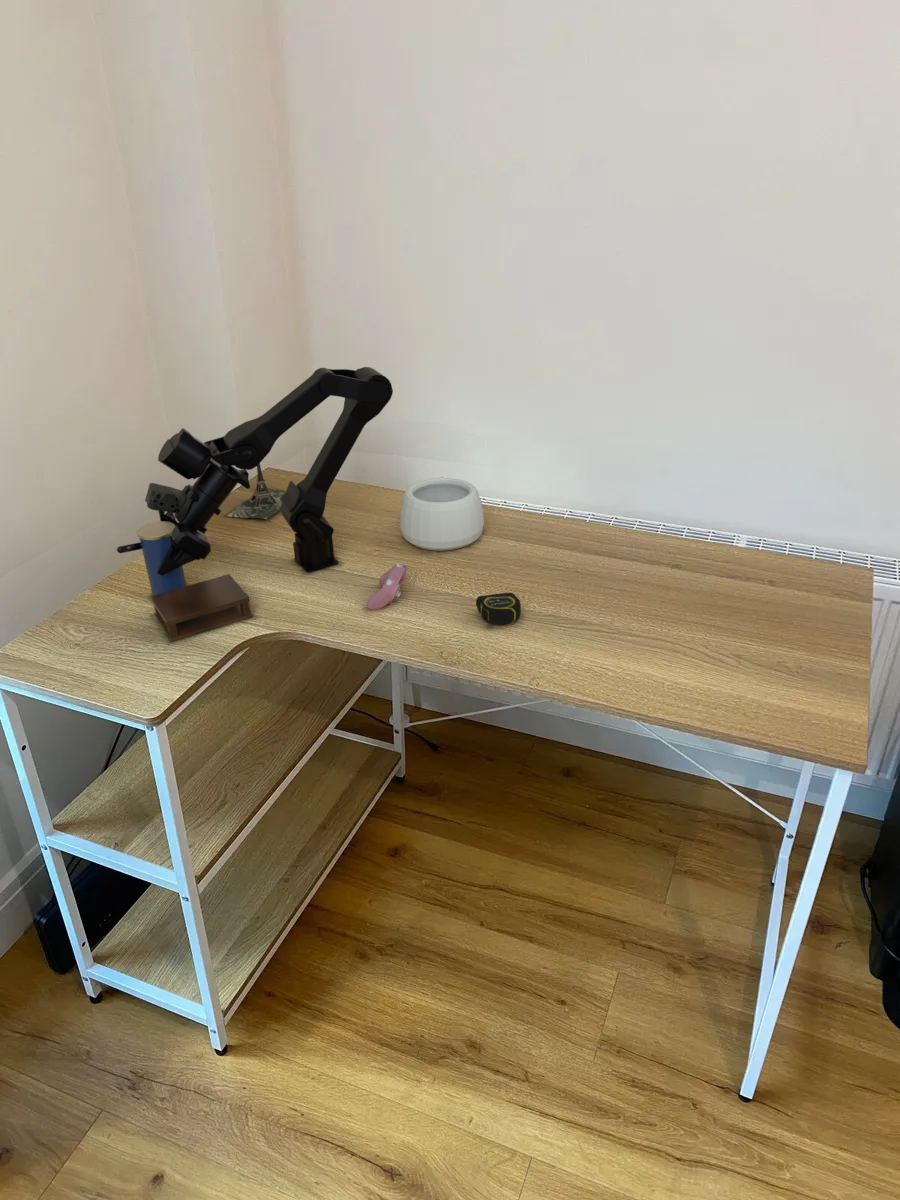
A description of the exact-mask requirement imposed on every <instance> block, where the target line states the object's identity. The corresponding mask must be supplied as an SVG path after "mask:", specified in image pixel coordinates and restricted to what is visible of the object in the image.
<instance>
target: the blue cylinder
mask: <svg viewBox="0 0 900 1200" xmlns="http://www.w3.org/2000/svg"><path fill="white" fill-rule="evenodd" d="M174 528H175V524H173V523H171V522H166V521H160V520H159V521H153V522H149V523H146V524H143V525H141V526H139V528H138V529H137V530H136V534H137V537H138V539H139V542H133V543H130V544H129V543H128V544H125V545H124V544H123V545H119V546H117V548H116V551H117V553H119V554H124V553H130V552H135V551H140V550H141V551H142V556H143V560H144V564H145V567H146V573H147V577H148V581H149V586H150V590H151V596H153V595H156V594H160V593H163V592H167V591H170V590H174V589H178V588H181V587H185V586H187V581H186V577H185V573H184V567H183V566H181V567H178V568H176V569H174V570H172V571H170V572H168V573H166V574H164V575H160V574H158V573H157V570H158V568H159V566H160V564H161V562H162V561H163V559H164V557H165V555H166V554H167V552H168V550H169V548H170V541H169V535H170V536H171V534H172V531H173V529H174Z"/></svg>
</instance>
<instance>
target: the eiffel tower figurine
mask: <svg viewBox="0 0 900 1200" xmlns="http://www.w3.org/2000/svg"><path fill="white" fill-rule="evenodd" d="M260 463H261V462H260ZM260 463H259V465H258V466H256V471H257V472H256V475H257V476H256V486H255V488H254V489H253V490H254V491H253V493H252V495H251V497H250V498H249V499H247V500H245V501H244V502H242V503H241V504H240V505H238V507H236V508H235V509H234V510H232V511H231V512H230V513H229V514H228V515H226V517H232V518H240V519H241V518H242V519H264V520H269V519H270V517H272V516H273V515H275V514H276V513H277V512H278V513H279V512H280V511H281V510H280V506H281V503H282V501H281V500H280V498H281V497H282V496H283V495H284V494H285V492H286V490H283V489H277V488H272V487H271V488H270V487H268V486H267V485H266V480H265V479H264V476H263V472H262V468H261V464H260Z"/></svg>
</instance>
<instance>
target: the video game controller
mask: <svg viewBox="0 0 900 1200" xmlns="http://www.w3.org/2000/svg"><path fill="white" fill-rule="evenodd" d="M408 572H409V567H407V566H406V565H404V564H399V563H396V564H394V565H393V566H392V567H391V568H390V569H389V570H387V571H386V572H384V573H383V574H381V576H380V577H379V579H378V583H379V584H380V586H381V588H380V589H379V590H378V591H377V592H375V593H374V594H372V595H371V596H370V597H368V598H367V600H366V602H365V603H366V604H365V605H366V607H367V609H368V610H372V611H375V610H380V609H382V608H383V607H386V606H387V605H391V603H392V602H393V600H394V599H395V598H397V599H398V598H399V597H400V596H401V594H402V592H401V588H400V587H401V584H402V583H403V581H405V579H406V578H407V575H408Z"/></svg>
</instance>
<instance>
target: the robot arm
mask: <svg viewBox="0 0 900 1200" xmlns="http://www.w3.org/2000/svg"><path fill="white" fill-rule="evenodd" d="M393 392H394V389H393V386H392V383H391V381H390V379H389V378H387V377H386V376H385V375H383V374H382V373H380V372H379V371H377V370H376V369H375V368H373V367H370V366H363V367H359V368H357V369H347V368H339V369H338V368H334V369H333V368H327V367H319V368H317V369H316V370H315V371H314V372H313V373H312V374H311V375H310V376H308V377H307V379H305V380H304V381H303V382H302V383H301V384H299V385H297V386H296V387H295V388H294V389H293V390H292V391H290V392H289V393H288V394H286V395H285V396H284V397H283V398H282V399H281V400H279V401H277V403H276V404H274V405H273V406H272V407H271V408H270V409H268V410H267V411H266V412H264V413H263V414H262V415H260V416H258V417H256V418H252V419H250V420H247V421H245V422H242V423H240V424H238V425H237V426H235V427H233V428H231V429H230V430H228V431H227V432H226V433H225V434H224V436H221V437H220V436H219V437H216V438H213V439H210V440H207V441H204V442H202V441H201V440H199V439H198V438H197V437H195V436H194V435H193V434H191V432H190V431H188V430H187V429H185V428H181V429H180V430H179V431H178V433H174V434H173V435H172V436H171V437H170V438H168V439H167V440H166V441H165V442H164V444H163V445H162V447H161V448H160V451H159V453H158V456H157V457H158V458H157V461H158V462H159V463H160V464H162V465H164V466H165V467H167V468H169V469H170V470H172V471H173V472H175V473H176V474H178V475H180V476H181V477H183V478H184V479H186V480H191V479H192V480H196V481H195V482H194V483H193V485H191V484H190V483H188V484H186V485H185V486H184V487H183V488H182V490H181V489H178V488H176V487H172V486H168V485H163V484H158V483H154V482H150V483H149V485H148V487H147V488H148V489H147V491H146V496H145V499H144V502H146V507H147V508H148V509H150V510H153V511H157V512H158V517H159V521H166V522H171V523H173V524H175V528H174V529H173V531H172V534H171V536H170V535H169V541H170V548H169V550H168V552H167V554H166V555H165V557H164V559H163V561H162V562H161V564H160V566H159V568H158V570H157V573H158V574H160V575H164V574H166V573H168V572H170V571H172V570H174V569H176V568H178V567H181V566H182V567H183V566H185V565H187V564H189V563H192V562H194V561H200V560H201V559H202V560H205V559H207V557H208V556H209V554H210V553H211V552H212V549H211V544H210V541H209V540H208V538H207V536H206V535H205V533H207V531H208V528H207V524H208V523H209V521H210V520H211V519H212V518H213V516H214V515H216V516H219V515H220V514H221V513H222V509H221V506H222V505H223V503H224V502H225V501H226V499H227V498H228V497H229V495H230V494H231V493H232V491H233V490H234V489H235V488H236V486H238V484H239V485H241V486H242V487H243V488H245V489H247V490H249V489H251V484H250V480H249V475H250V473H249V471H251V470H253V469H255V468H257V466H258V465H259V463H261V462H262V461H263V460H264V459H265V458H266V457H267V455H269V453H270V452H271V450H272V448H273V447H274V445H275V443H277V442H276V441H277V440H278V439H279V438H280V437H281V436H282V435H284V433H287V431H288V430H289V429H291V428H292V427H293V426H295V425H296V424H297V423H298V422H299V421H300V420H302V419H303V418H304V417H306V416H307V415H308V414H309V413H310V412H312V411H313V410H314V409H316V408H318V406H319V405H320V404H322V403H323V402H324V401H325V400H326V399H328V398H329V397H339V398H344V402H343V408H342V411H341V413H340V415H339V417H338V419H337V421H336V422H335V424H334V426H333V428H332V430H331V431H330V432H329V435H328V436H327V438H326V440H325V442H324V443H323V445H322V448H321V449H320V451H319V452H318V454H317V456H316V458H315V460H314V462H313V464H312V465H311V467H310V469H309V471H308V473H307V474H306V476H305V477H304V478H303V479H301V481H300V482H298V483H295V482H294V481H293V480H291V481H290V482H289V483H288V484H287V488H286V490H285V491H286V492H285V494H284V495H283V496H282V497H281V498H280V500H281V501H282V503H281V506H280V510H279V511H280V513H281V516H282V518H284V520H285V521H286V523H287V525H288V526H289V527H290V528H291V530H292V531H293V532H294V542H292V543H293V544H292V545H293V551H294V552H293V554H294V558H293V559H294V561H295V563H296V564H297V565H298V566H299V567H301V568H302V569H303V570H304V572H306V573H311V572H316V571H319V570H322V569H325V568H329V567H332V566H336V565H338V564H339V560H338V559H337V558H336V557H335V552H334V543H333V542H334V541H333V535H334V530H335V529H334V527H333V526H332V525H331V524H330V523H329V521H328V520H327V518H326V517H325V516H324V513H325V509H326V504H327V503H326V502H327V495H328V492H329V490H330V488H331V486H332V484H333V483H334V481H335V479H336V478H337V475H338V474H339V472H340V470H341V469H342V467H343V465H344V463H345V461H346V460H347V458H348V457H349V455H350V453H351V451H352V449H353V447H354V445H355V443H356V442H357V440H358V438H359V436H360V435H361V434H362V431H363V429H364V428H365V426H366V425H367V424H368V423H370V421H372V420H373V419H374V418H376V417H377V416H378V415H380V414H381V412H382V411H383V409H384V408H385V407H386V406H387V405H388V403H389V402H390V401H391V399H392V397H393V394H394V393H393Z"/></svg>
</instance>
